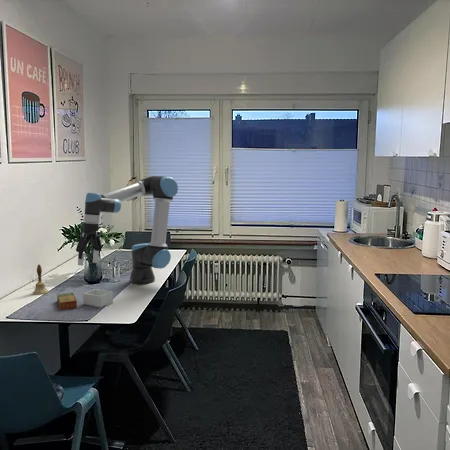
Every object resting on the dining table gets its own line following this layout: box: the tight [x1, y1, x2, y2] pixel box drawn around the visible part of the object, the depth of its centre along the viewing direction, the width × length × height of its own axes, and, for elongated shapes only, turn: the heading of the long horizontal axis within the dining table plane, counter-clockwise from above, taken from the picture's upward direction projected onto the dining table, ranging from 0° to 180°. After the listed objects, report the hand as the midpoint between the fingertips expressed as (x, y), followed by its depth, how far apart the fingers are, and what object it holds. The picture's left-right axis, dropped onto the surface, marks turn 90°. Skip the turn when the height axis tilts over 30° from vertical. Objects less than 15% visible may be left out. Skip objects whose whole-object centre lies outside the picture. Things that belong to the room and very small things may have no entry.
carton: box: [56, 292, 78, 311], centre depth 235 cm, size 8×16×4 cm, turn 25°
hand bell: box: [32, 264, 49, 295], centre depth 255 cm, size 8×8×16 cm
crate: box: [82, 288, 114, 309], centre depth 236 cm, size 9×12×6 cm
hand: (88, 264), depth 234 cm, fingers open, 13 cm apart
